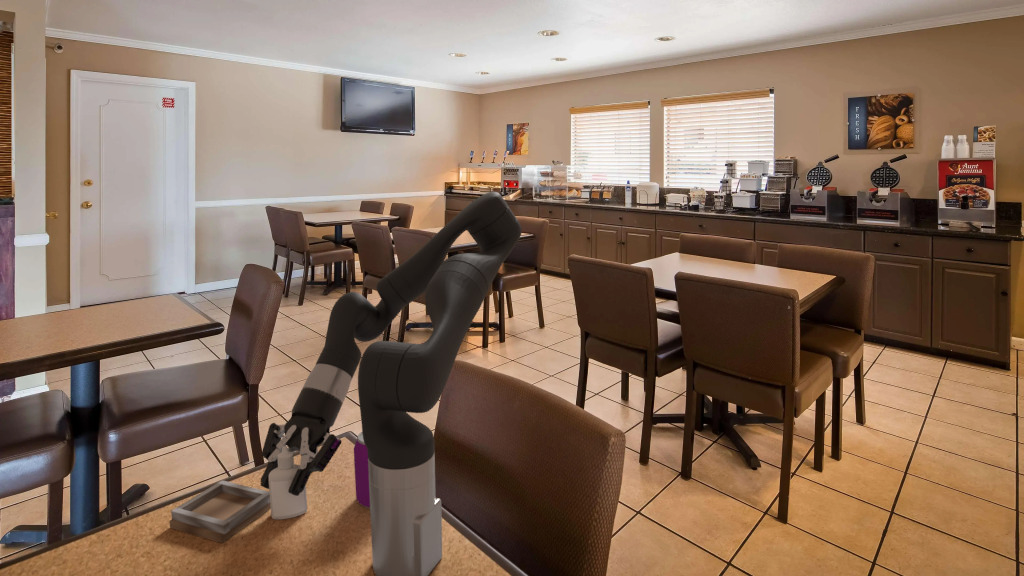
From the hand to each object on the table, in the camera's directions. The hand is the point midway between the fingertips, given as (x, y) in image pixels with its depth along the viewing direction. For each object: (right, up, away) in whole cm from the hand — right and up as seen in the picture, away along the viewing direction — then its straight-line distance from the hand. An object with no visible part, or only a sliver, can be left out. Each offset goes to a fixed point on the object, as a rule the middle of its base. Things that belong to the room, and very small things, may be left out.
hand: (279, 490), depth 92 cm
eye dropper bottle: (+1, -5, +3) cm, 6 cm away
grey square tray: (-10, -5, +2) cm, 11 cm away
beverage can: (+15, -4, +7) cm, 17 cm away
